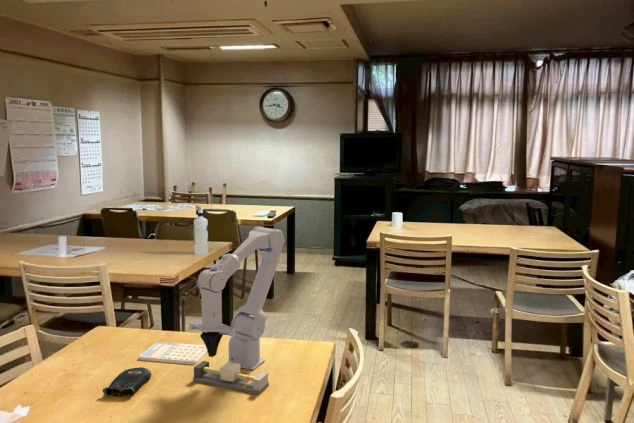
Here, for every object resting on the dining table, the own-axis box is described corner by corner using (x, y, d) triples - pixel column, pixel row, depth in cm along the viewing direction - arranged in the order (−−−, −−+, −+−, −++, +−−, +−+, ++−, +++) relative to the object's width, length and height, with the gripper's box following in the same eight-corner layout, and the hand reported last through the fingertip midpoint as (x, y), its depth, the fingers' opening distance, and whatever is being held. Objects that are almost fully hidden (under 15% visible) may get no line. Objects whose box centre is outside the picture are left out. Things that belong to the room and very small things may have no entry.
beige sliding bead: (220, 379, 148) (220, 367, 148) (228, 373, 152) (228, 361, 152) (232, 382, 147) (232, 369, 146) (240, 376, 151) (240, 363, 150)
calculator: (195, 366, 162) (195, 360, 162) (137, 361, 166) (137, 355, 165) (211, 350, 175) (211, 344, 175) (157, 345, 179) (157, 340, 178)
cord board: (193, 380, 151) (192, 367, 151) (204, 372, 157) (204, 360, 156) (258, 394, 143) (258, 381, 142) (268, 385, 148) (268, 372, 148)
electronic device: (137, 403, 141) (156, 372, 156) (132, 385, 140) (152, 356, 154) (105, 406, 142) (127, 375, 157) (100, 388, 141) (122, 359, 155)
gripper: (182, 311, 148) (183, 356, 150) (225, 318, 143) (226, 364, 145) (197, 304, 155) (198, 347, 157) (238, 311, 149) (239, 355, 151)
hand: (212, 355), depth 151 cm, fingers closed
